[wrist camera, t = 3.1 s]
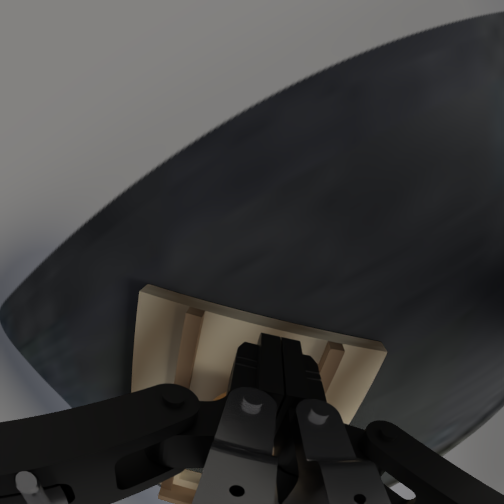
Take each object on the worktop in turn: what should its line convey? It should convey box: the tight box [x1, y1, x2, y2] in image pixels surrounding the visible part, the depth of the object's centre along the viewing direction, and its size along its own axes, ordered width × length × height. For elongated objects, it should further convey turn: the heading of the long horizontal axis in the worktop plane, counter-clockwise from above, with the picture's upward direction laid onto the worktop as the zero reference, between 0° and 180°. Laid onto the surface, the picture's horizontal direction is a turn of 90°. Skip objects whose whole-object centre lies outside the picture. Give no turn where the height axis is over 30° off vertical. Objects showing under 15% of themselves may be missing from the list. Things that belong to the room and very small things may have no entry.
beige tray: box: [131, 284, 387, 504], centre depth 21 cm, size 17×22×4 cm
